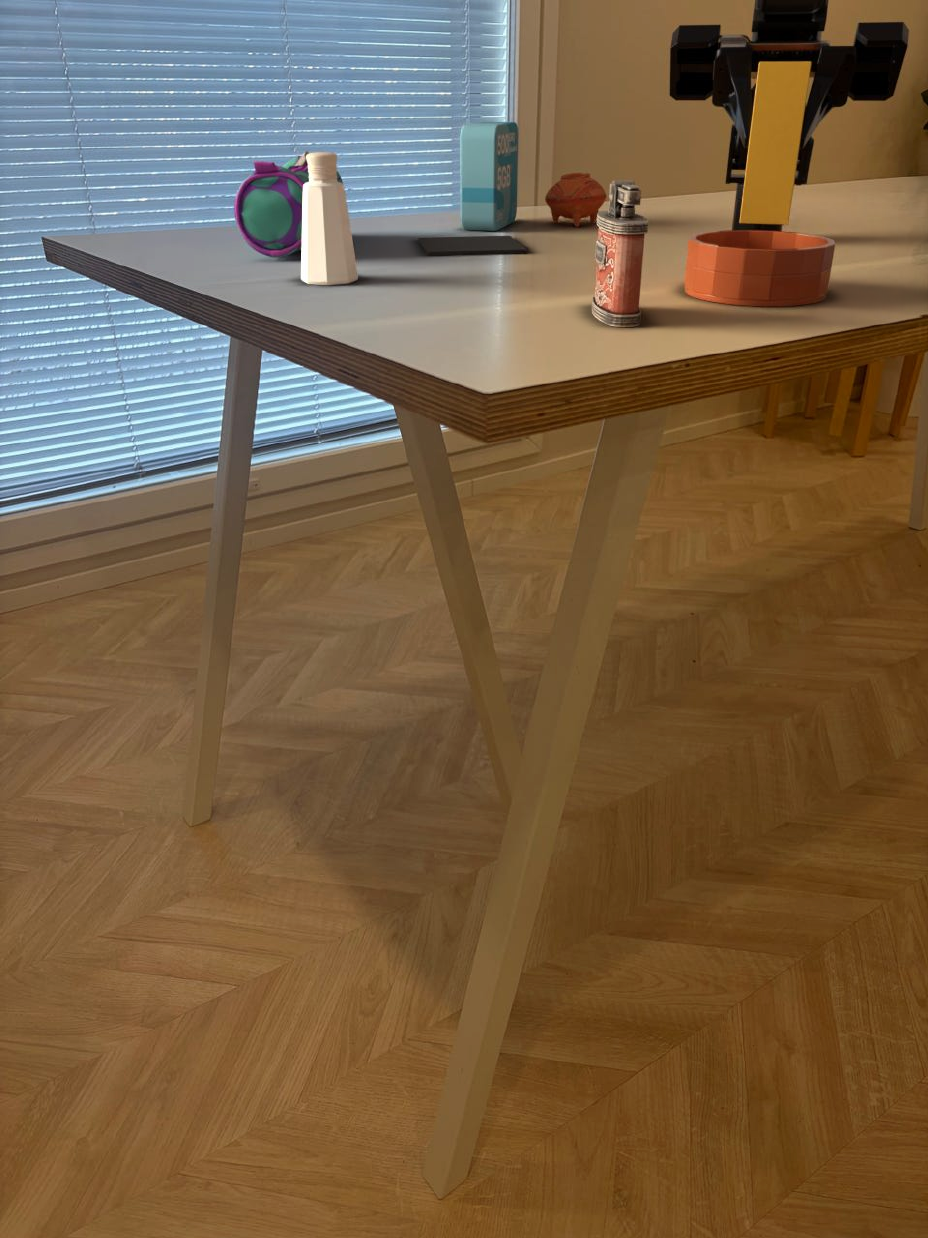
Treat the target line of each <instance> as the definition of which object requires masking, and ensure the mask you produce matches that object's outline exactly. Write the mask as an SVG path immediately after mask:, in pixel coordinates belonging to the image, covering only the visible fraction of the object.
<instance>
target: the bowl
mask: <svg viewBox="0 0 928 1238" xmlns="http://www.w3.org/2000/svg"><path fill="white" fill-rule="evenodd" d="M835 249H836V242H835V239H831V238H828V237H826V236H822V235H817V234H812V233H805V232H796V231H786V230H785V231H783V230H782V231H769V230H732V229H728V230H727V229H725V230H724V229H723V230H713V231H704V232H703V231H702V232H699V233H698V232H697V233H696V234H691V235H690V236H689V238H688V244H687V252H686V253H687V254H686V264H685V265H686V266H685V274H684V283H683V284H684V285H683V286H684V292H685V294H687V295H688V296H690V297H693V298H695V299H698V300H703V301H707V302H713V303H717V304H725V305H733V306H745V307H746V306H747V307H793V306H802V305H810V304H816V303H818V302H822V301H823V300H825V298H826V297H827V293H828V290H829V284H830V279H831V273H832V267H833V260H834V255H835Z"/></svg>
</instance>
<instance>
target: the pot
mask: <svg viewBox="0 0 928 1238" xmlns="http://www.w3.org/2000/svg"><path fill="white" fill-rule="evenodd" d="M607 197H608V196H607V194H606V191H605V188H604V187H603V185H601V183H600V182H599V181H597V180H596V179H594V178H593V177H591V174H590V173H588V172H587V173H583V172H573V173H572V172H571V173H566V174H563V175H561V176H560V179H559V180H558V181H557V182H556V183H554V185H552V186H551V188H549V190H548V191H547V193H546V195H545V197H544V200H545V201H544V202H545V203H546V205H547V206H548V207H549V209H550V213H551V219H552V221H553V222H554V223H556V224H559V220H560V217H562V218H564V219H570V220H573V222H574V223H573V224H574V227H576V228H579V226H580V223H581V219H585V218H588V217H589V221H590V223H592V224H594V223H596V222H597V212H599V209H600V208H601V207H602V206H603V205H604V203H605V202H606V200H607Z"/></svg>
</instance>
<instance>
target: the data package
mask: <svg viewBox="0 0 928 1238" xmlns="http://www.w3.org/2000/svg"><path fill="white" fill-rule="evenodd" d="M459 137H460V138H459V152H460V153H459V158H460V162H459V164H460V165H459V168H460V169H459V170H460V172H459V173H460V175H459V177H460V182H459V183H460V185H459V186H460V224H461V228H462V229H463V230H464V231H488V232H490V231H491V232H498V231H499V230H501V229H503V228H505V227H506V226H508V225H510V224H512V223H514V222H515V221H516V219H517V214H518V213H517V212H518V173H519V172H518V171H519V170H518V169H519V127H518V123H517V122H516V121H479V122H473V123H466V124H463V125H462V127H461V130H460V135H459Z"/></svg>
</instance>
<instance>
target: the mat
mask: <svg viewBox="0 0 928 1238" xmlns="http://www.w3.org/2000/svg"><path fill="white" fill-rule="evenodd" d="M417 241H418V243H419V245H420V246H421V247H422V249H423V251H424V252H425V253H426V255H427V256H461V255H462V256H463V255H464V256H465V255H467V256H468V255H500V254H501V255H502V254H503V255H506V254H507V255H508V254H509V255H510V254H528V249H527V248H526V247H525V246H524V245H522V244H521V243H520V242H518V241H517V240H516V239H515V238H514V237H512V236H511V235H477V236H476V235H475V236H473V235H472V236H432V237H430V236H429V237H425V236H424V237H417Z"/></svg>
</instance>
